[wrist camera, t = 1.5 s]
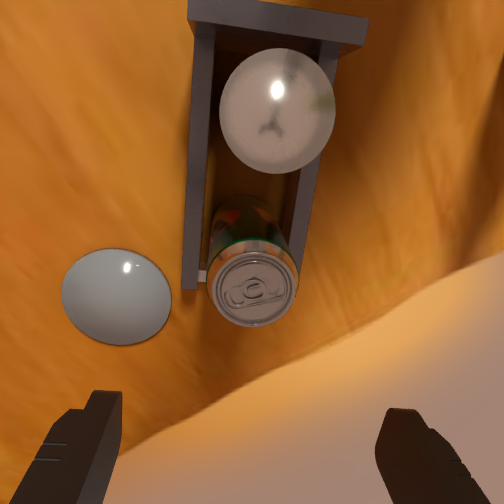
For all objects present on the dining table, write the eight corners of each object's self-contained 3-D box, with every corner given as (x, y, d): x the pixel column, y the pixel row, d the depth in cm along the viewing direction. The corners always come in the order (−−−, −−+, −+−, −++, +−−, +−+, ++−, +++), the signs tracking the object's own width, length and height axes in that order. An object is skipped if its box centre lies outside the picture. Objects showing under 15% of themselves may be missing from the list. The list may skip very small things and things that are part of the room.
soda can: (281, 241, 30) (314, 316, 19) (225, 261, 31) (224, 346, 19) (262, 185, 29) (287, 231, 17) (203, 206, 29) (188, 265, 18)
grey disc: (60, 243, 29) (57, 245, 28) (173, 252, 30) (172, 255, 29) (67, 337, 32) (64, 341, 32) (169, 343, 33) (168, 347, 33)
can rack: (199, 27, 24) (188, -11, 17) (327, 46, 25) (369, 18, 18) (185, 270, 31) (172, 320, 23) (288, 278, 32) (307, 329, 24)
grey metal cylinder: (225, 72, 25) (224, 39, 14) (294, 81, 26) (346, 57, 15) (219, 145, 27) (214, 167, 16) (284, 152, 28) (323, 179, 17)
